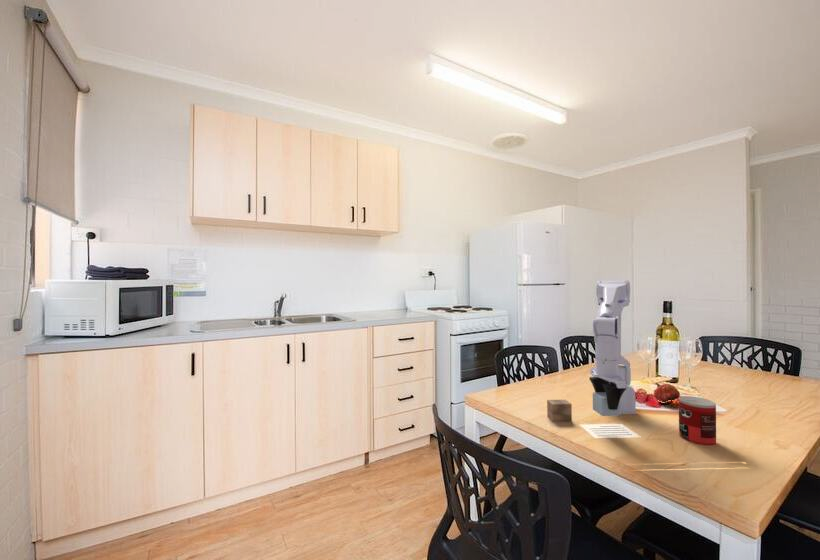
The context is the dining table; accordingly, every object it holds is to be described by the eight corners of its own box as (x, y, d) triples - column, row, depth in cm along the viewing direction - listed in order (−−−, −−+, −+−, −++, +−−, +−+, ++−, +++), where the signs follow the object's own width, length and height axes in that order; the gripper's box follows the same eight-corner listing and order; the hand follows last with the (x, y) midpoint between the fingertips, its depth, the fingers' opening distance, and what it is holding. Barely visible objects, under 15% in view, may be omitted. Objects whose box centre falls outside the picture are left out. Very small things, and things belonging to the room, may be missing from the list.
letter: (621, 424, 107) (621, 423, 107) (641, 437, 98) (641, 437, 98) (579, 425, 107) (579, 424, 107) (595, 438, 98) (595, 437, 98)
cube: (609, 408, 104) (609, 392, 104) (619, 415, 99) (619, 397, 99) (592, 409, 104) (592, 392, 104) (602, 415, 99) (601, 398, 99)
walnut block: (565, 418, 113) (565, 399, 113) (571, 423, 109) (571, 403, 109) (547, 418, 113) (547, 399, 113) (552, 423, 109) (552, 404, 109)
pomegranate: (683, 411, 122) (664, 387, 130) (692, 400, 118) (671, 375, 126) (662, 414, 122) (644, 390, 130) (671, 403, 118) (651, 378, 125)
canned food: (679, 431, 102) (679, 394, 102) (715, 439, 97) (715, 399, 97) (678, 441, 96) (677, 401, 96) (716, 450, 91) (716, 407, 91)
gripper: (580, 353, 109) (580, 397, 109) (607, 365, 94) (607, 415, 94) (603, 353, 109) (603, 396, 109) (633, 364, 94) (633, 415, 94)
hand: (607, 405), depth 101 cm, fingers closed on cube, 5 cm apart
